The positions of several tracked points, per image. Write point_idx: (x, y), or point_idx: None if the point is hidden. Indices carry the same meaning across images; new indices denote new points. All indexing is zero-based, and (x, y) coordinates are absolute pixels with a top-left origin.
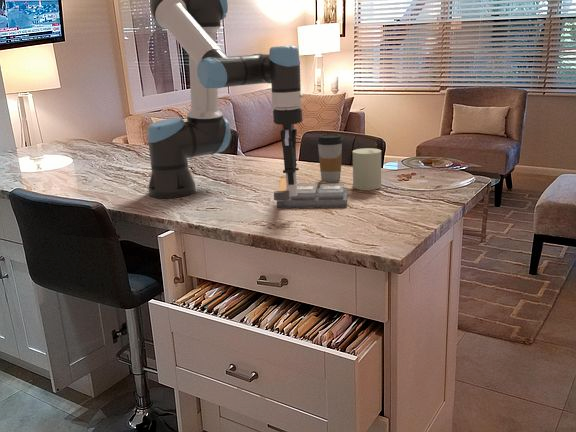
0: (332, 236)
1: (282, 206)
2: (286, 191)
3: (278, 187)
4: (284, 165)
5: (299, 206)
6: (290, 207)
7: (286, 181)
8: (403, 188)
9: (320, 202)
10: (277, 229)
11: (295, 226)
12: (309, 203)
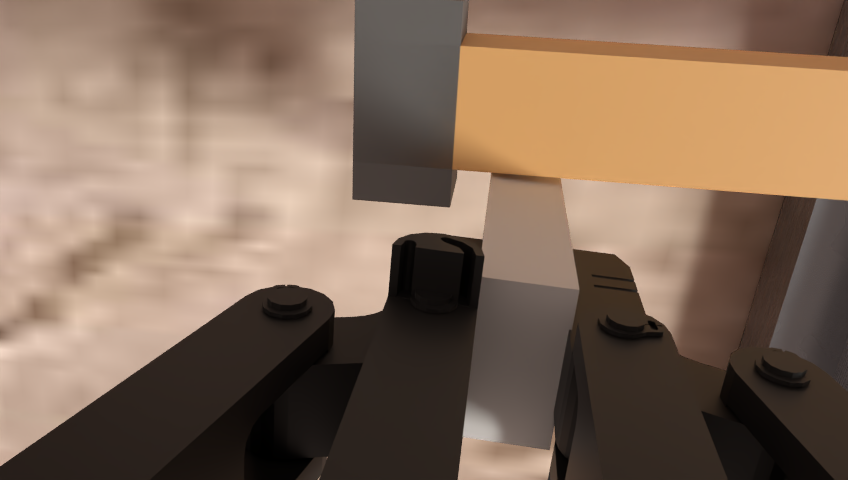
0: (2, 389)
1: (835, 48)
2: (416, 173)
3: (669, 62)
4: (167, 354)
5: (782, 219)
6: None
7: (486, 222)
8: None
9: None
10: (134, 4)
11: (212, 159)
12: (763, 321)
